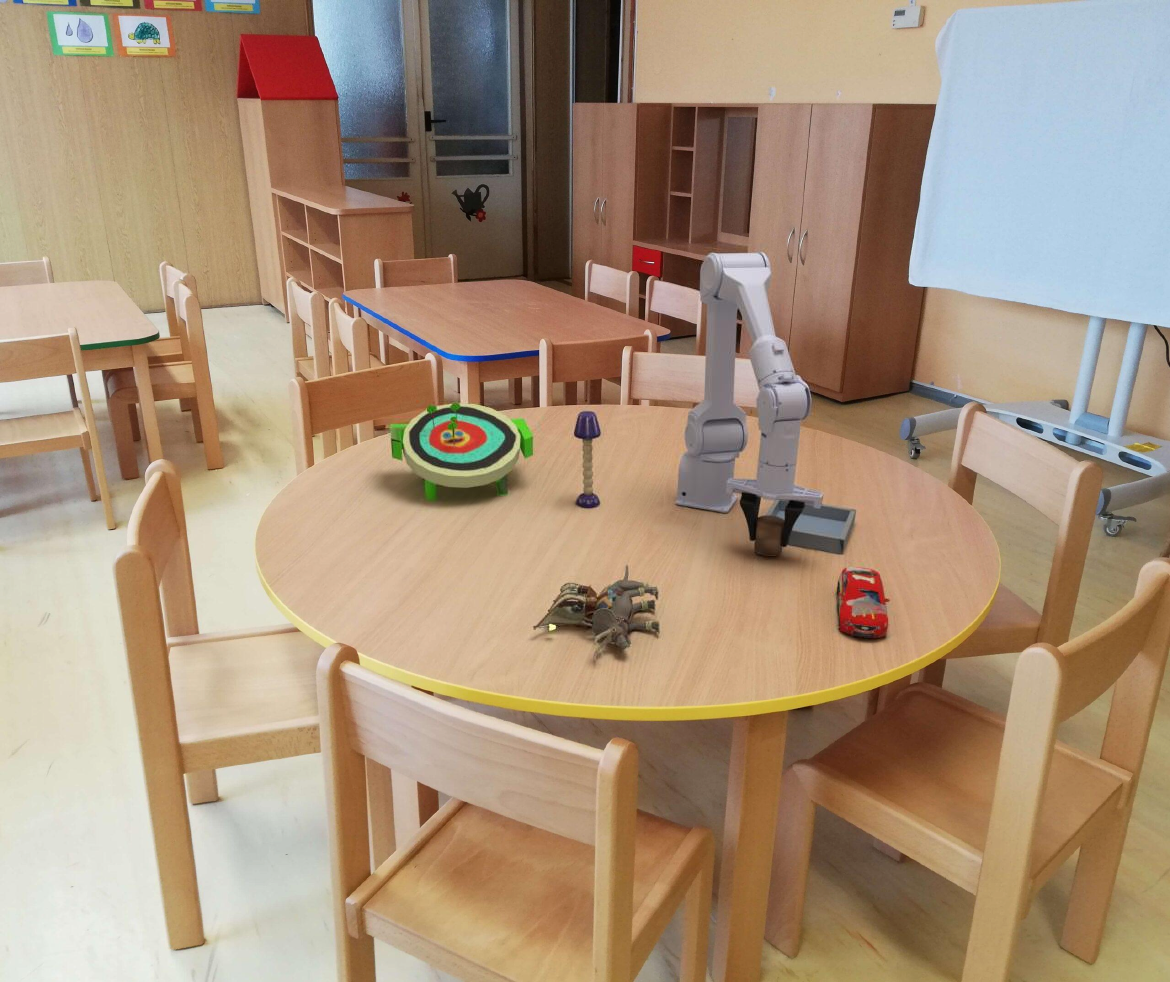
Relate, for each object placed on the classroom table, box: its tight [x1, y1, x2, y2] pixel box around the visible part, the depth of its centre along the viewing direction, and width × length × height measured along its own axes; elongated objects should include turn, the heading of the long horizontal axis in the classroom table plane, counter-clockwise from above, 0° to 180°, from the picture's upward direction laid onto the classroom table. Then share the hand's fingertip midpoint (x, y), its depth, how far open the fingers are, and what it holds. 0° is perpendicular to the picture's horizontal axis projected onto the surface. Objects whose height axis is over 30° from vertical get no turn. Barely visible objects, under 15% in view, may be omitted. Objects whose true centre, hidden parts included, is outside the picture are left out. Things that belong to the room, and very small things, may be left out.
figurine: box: [532, 564, 661, 664], centre depth 125 cm, size 20×6×17 cm
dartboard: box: [389, 401, 534, 501], centre depth 168 cm, size 25×19×16 cm
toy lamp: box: [573, 410, 602, 509], centre depth 163 cm, size 5×5×17 cm
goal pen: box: [765, 500, 857, 555], centre depth 156 cm, size 14×14×2 cm
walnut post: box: [753, 514, 784, 557], centre depth 147 cm, size 4×4×5 cm
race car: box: [836, 566, 891, 639], centre depth 130 cm, size 16×7×5 cm, turn 166°
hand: (768, 541), depth 147 cm, fingers closed on walnut post, 4 cm apart
